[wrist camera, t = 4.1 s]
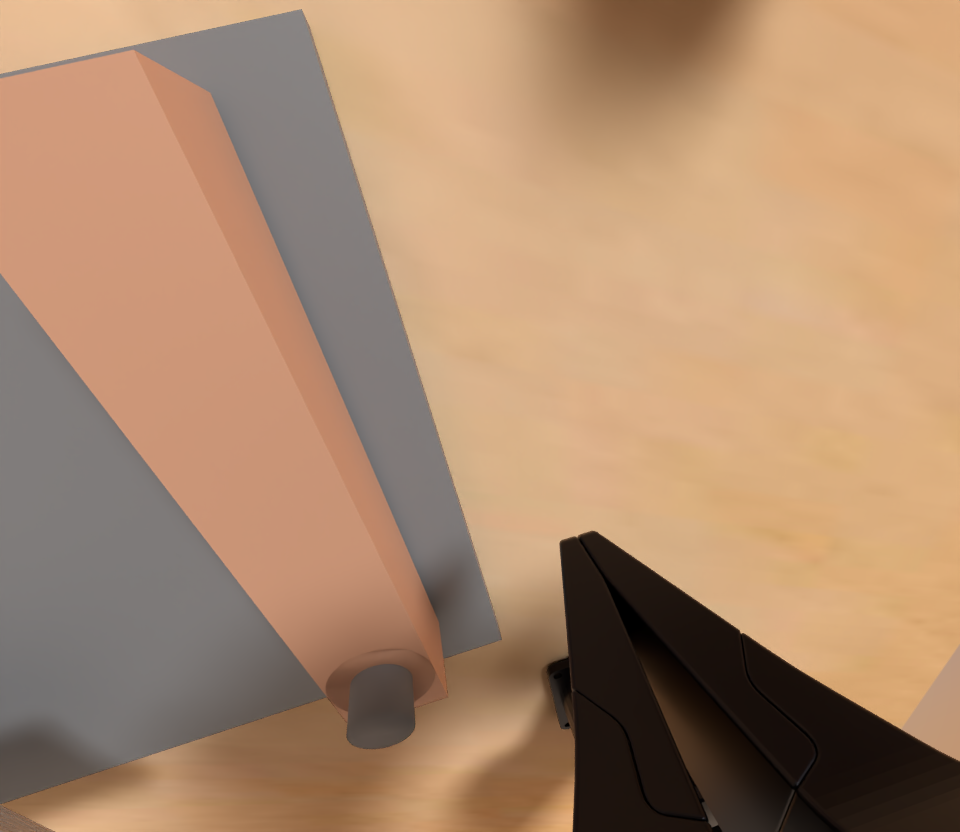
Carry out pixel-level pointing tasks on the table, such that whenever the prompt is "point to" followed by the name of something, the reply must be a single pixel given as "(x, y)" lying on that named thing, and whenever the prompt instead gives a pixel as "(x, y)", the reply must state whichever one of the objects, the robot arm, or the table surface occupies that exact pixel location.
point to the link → (212, 367)
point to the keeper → (18, 823)
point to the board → (147, 503)
